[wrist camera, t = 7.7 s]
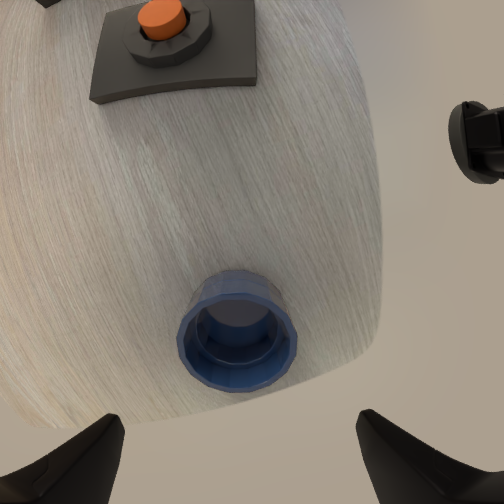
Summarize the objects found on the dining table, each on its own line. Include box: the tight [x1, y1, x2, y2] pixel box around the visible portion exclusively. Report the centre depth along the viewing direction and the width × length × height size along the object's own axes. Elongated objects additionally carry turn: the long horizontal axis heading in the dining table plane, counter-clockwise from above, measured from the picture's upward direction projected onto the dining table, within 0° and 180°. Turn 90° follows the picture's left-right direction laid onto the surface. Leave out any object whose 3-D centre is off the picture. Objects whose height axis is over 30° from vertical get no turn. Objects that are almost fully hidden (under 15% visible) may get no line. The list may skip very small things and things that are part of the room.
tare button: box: [138, 0, 186, 40], centre depth 11 cm, size 3×3×2 cm
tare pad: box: [89, 0, 257, 104], centre depth 13 cm, size 11×8×3 cm
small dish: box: [176, 270, 297, 393], centre depth 16 cm, size 6×6×4 cm
